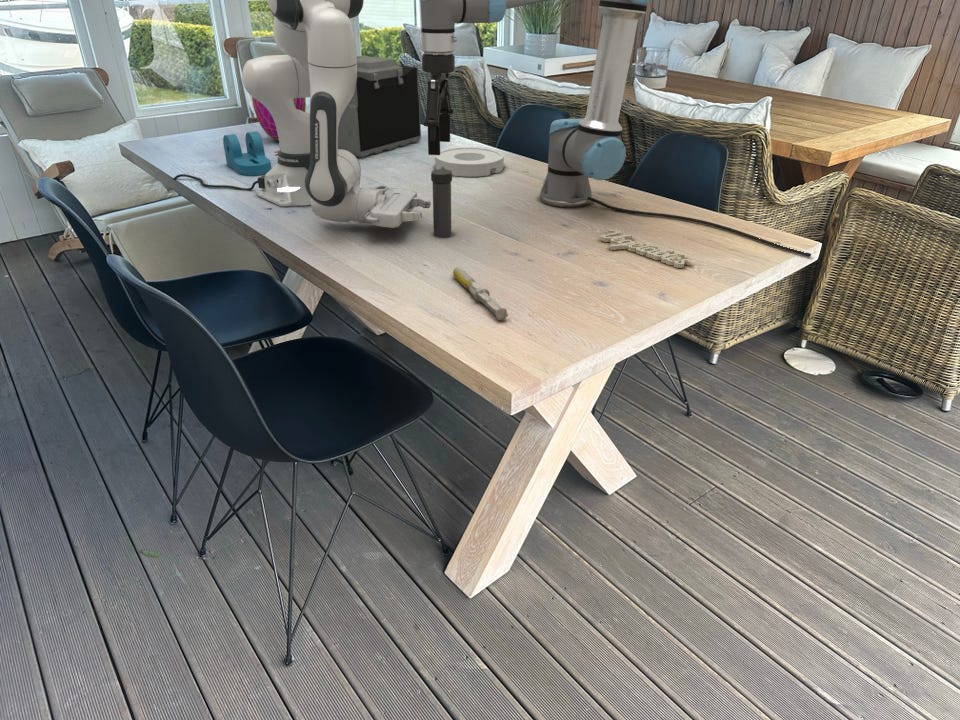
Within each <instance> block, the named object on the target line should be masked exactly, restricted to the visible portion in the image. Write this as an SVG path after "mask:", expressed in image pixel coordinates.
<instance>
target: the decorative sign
mask: <svg viewBox="0 0 960 720" xmlns="http://www.w3.org/2000/svg"><path fill="white" fill-rule="evenodd" d="M600 241H602V242H605V243H609V244H610V245H609V250H610V251H617V250H618V251H619V250H627V251H628V252H634V253H635V254H637V255H640V256H645V257H647V258H649V259H653V260H654V261H660V262H661V263H663V264H666V265H668V266H673V267H674V268H677V269H684V267H685V265H686V266H687V267H688V266H691V259H688V258H685V253H683V252H676V253H675V250H674V249H663V250H660V248H659V246H657V245H656V244H651V243H649V242H643V243H641V242H637V241H633V235H632V234H621V231H620V230H617V229H607V232H606V233H604V234H601V236H600Z"/></svg>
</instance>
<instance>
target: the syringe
mask: <svg viewBox="0 0 960 720" xmlns="http://www.w3.org/2000/svg"><path fill="white" fill-rule="evenodd" d="M452 274H453V277H454V279H455V280H457V281H458V282H459V283H460V285H462V287H464V289H466V290H467V291H468V293H470V295H471V296H472V298H473V300H474V302H477V303H478V302H480V303H482V304H483V305H484V306H485V307H486V308H487V309H488V310H489V311H490V312H491V313H492V314H493V315H494V316H495V317H496V320H497V321H503V320H504V319H506V318H507V317H509V314H508V310H507V308H506V307H502V306H501V305H500V303H498V302H497V301H496V300H494V299H493V298H492V297H491V296H490V295H491V293H490V290H488V289H486V288H483V287H482V286H481V285H480V284H479V283H478V282H477V281H476V280H474V278H473V277H471V275H469V274H468V273H467V272H466V270H465V269H464V268H463V267H462V266H456V267H454V268H453V271H452Z"/></svg>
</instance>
